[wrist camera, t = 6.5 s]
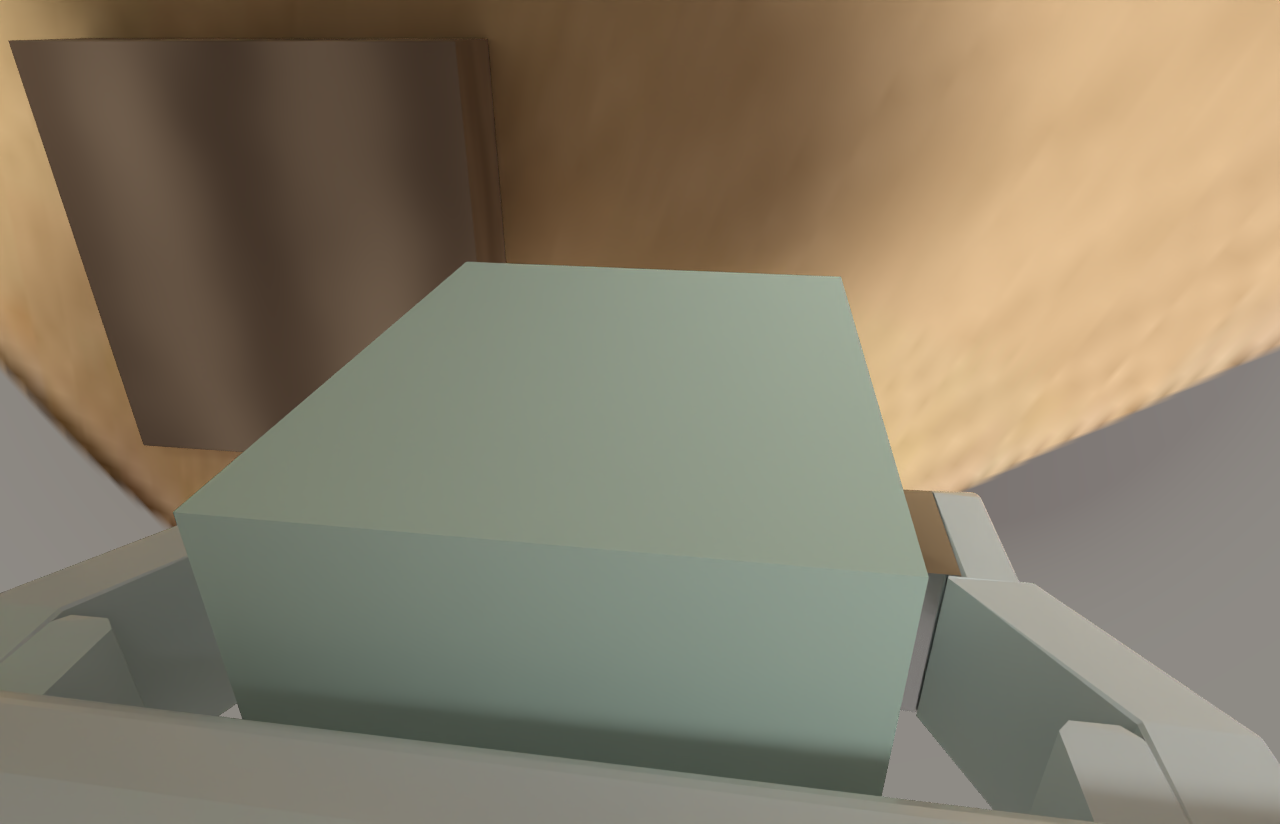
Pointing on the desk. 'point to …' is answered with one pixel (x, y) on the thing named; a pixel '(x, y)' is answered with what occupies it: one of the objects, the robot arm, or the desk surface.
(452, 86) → the walnut base
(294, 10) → the desk surface
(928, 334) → the desk surface
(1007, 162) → the desk surface
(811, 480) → the sage block
